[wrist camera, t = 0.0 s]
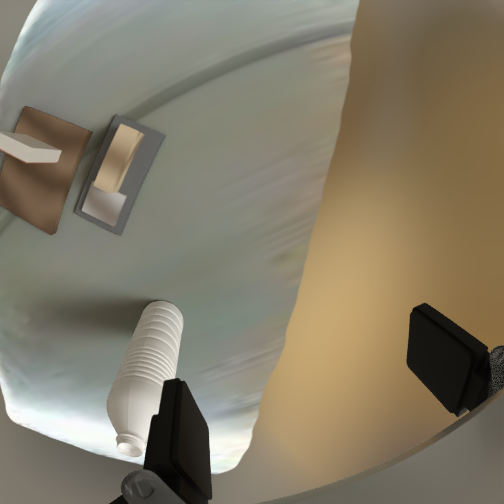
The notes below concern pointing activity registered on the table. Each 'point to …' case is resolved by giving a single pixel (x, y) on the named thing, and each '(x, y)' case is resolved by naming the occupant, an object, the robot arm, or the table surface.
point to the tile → (28, 148)
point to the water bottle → (144, 375)
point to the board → (42, 170)
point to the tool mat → (133, 174)
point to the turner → (112, 177)
